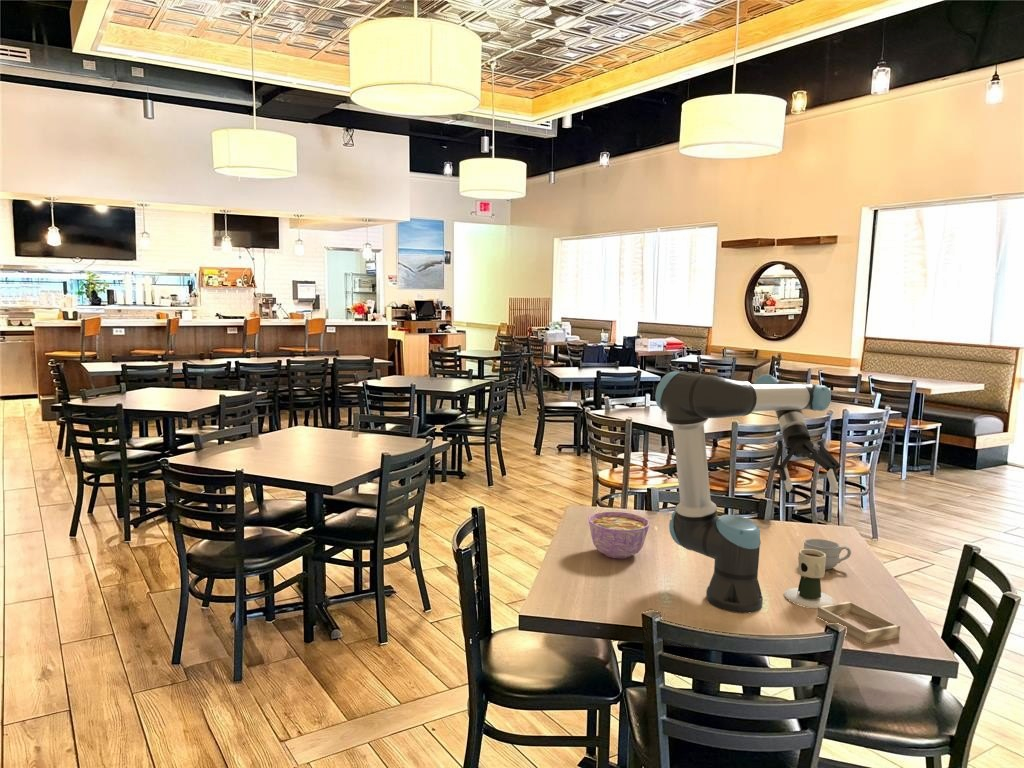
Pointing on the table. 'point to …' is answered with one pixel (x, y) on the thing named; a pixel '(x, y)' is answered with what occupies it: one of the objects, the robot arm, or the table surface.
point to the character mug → (811, 572)
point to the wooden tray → (884, 626)
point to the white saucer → (811, 603)
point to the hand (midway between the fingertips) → (812, 490)
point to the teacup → (828, 551)
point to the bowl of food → (618, 533)
